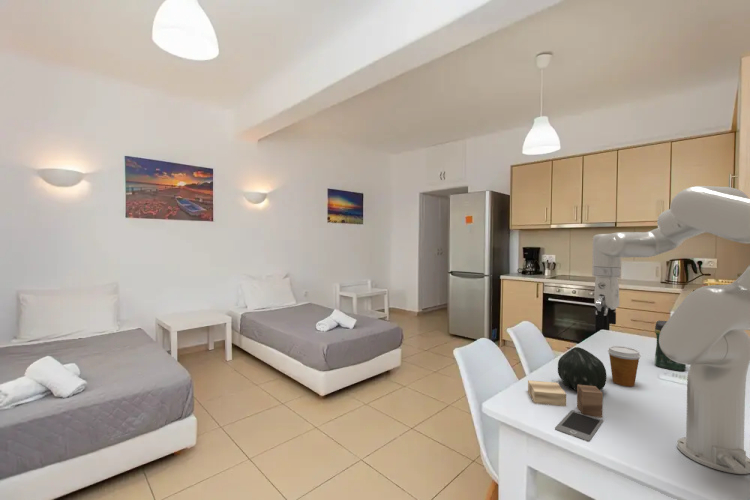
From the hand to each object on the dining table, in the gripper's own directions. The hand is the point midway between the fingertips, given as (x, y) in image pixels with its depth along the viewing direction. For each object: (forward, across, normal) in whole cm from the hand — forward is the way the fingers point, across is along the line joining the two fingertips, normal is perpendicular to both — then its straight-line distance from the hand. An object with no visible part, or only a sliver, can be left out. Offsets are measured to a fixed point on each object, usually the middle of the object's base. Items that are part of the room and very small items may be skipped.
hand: (605, 325), depth 110 cm
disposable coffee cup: (+23, +19, -1) cm, 30 cm away
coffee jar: (+23, +53, -10) cm, 59 cm away
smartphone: (+24, -24, 0) cm, 34 cm away
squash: (+23, +4, +8) cm, 25 cm away
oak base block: (+24, -14, +13) cm, 30 cm away
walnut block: (+23, -14, +1) cm, 27 cm away
